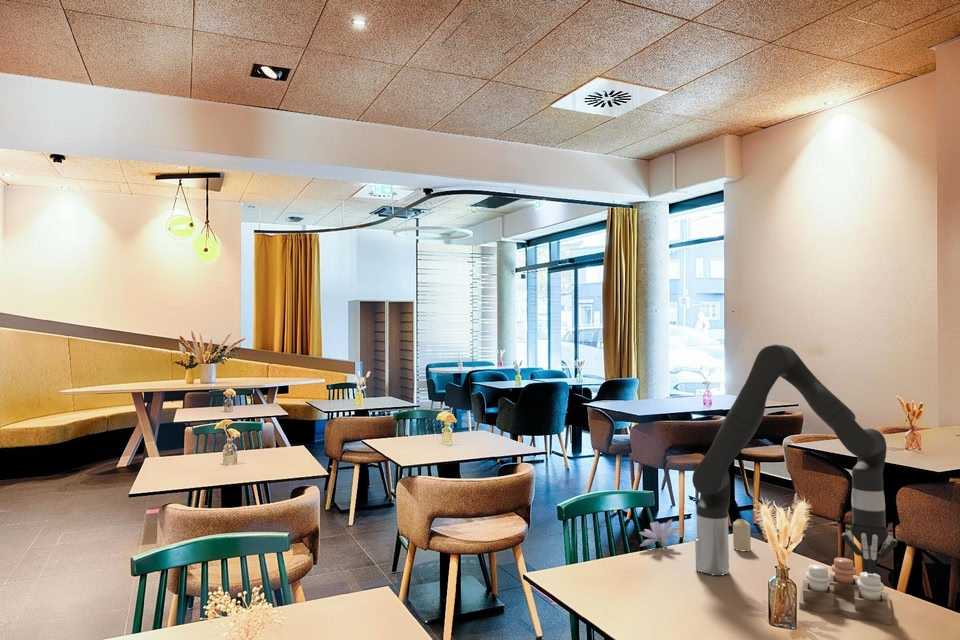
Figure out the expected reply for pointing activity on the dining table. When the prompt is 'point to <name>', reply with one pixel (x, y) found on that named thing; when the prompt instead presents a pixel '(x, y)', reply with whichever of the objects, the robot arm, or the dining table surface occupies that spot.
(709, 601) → the dining table surface
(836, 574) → the middle knob
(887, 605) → the mount block
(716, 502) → the robot arm
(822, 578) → the knob
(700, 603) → the dining table surface
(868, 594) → the knob
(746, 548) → the candle
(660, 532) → the water lily
